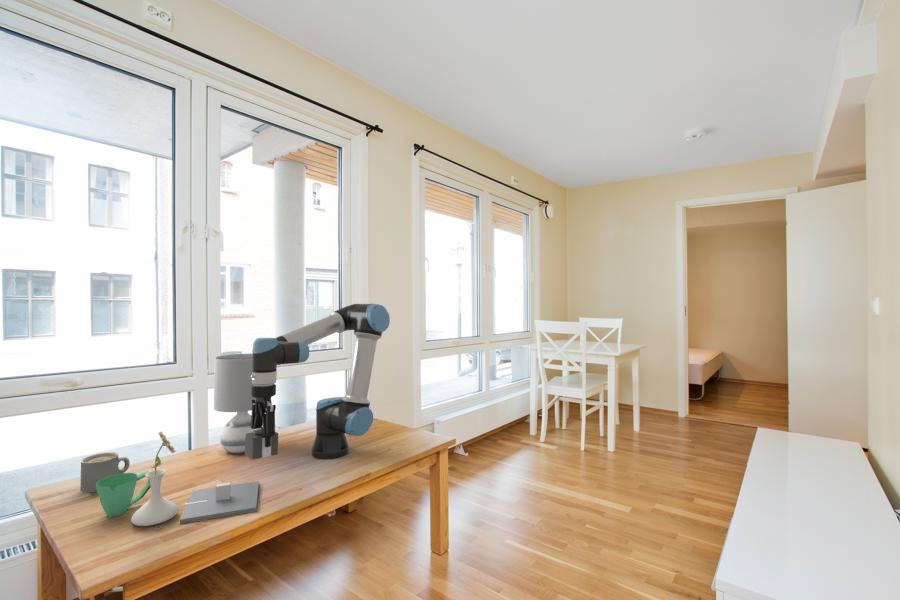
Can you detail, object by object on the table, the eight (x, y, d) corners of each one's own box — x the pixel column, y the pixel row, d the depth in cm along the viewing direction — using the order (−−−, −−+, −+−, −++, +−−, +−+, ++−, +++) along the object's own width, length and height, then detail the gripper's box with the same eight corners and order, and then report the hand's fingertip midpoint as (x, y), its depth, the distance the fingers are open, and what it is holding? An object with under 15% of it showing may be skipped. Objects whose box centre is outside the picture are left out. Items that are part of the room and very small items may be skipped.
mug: (104, 524, 120) (105, 489, 120) (89, 515, 125) (90, 481, 125) (160, 503, 132) (161, 471, 133) (144, 495, 137) (145, 465, 137)
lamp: (233, 463, 166) (234, 361, 166) (202, 452, 176) (203, 357, 177) (279, 447, 184) (280, 355, 184) (249, 438, 195) (250, 352, 195)
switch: (258, 484, 146) (258, 468, 146) (256, 511, 128) (256, 492, 128) (190, 494, 139) (191, 477, 139) (177, 524, 120) (177, 504, 120)
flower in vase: (170, 527, 118) (171, 439, 119) (123, 533, 115) (124, 442, 115) (185, 505, 131) (186, 426, 131) (143, 510, 128) (144, 428, 128)
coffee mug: (82, 495, 137) (82, 465, 137) (78, 486, 144) (79, 457, 144) (132, 483, 147) (133, 454, 147) (127, 475, 153) (127, 447, 153)
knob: (269, 449, 144) (270, 424, 144) (277, 454, 140) (278, 427, 140) (244, 454, 138) (245, 428, 138) (252, 459, 134) (253, 432, 134)
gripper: (241, 381, 143) (239, 449, 143) (264, 389, 130) (262, 464, 130) (263, 379, 149) (261, 444, 148) (287, 386, 136) (285, 458, 135)
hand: (261, 453), depth 139 cm, fingers closed on knob, 6 cm apart
